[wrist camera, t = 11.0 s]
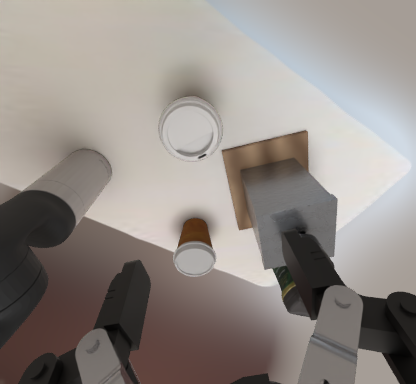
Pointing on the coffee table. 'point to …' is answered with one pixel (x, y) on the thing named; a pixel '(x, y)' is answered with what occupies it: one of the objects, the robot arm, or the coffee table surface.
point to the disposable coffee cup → (194, 249)
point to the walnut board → (257, 156)
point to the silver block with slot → (287, 207)
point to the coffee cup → (190, 129)
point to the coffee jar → (290, 292)
